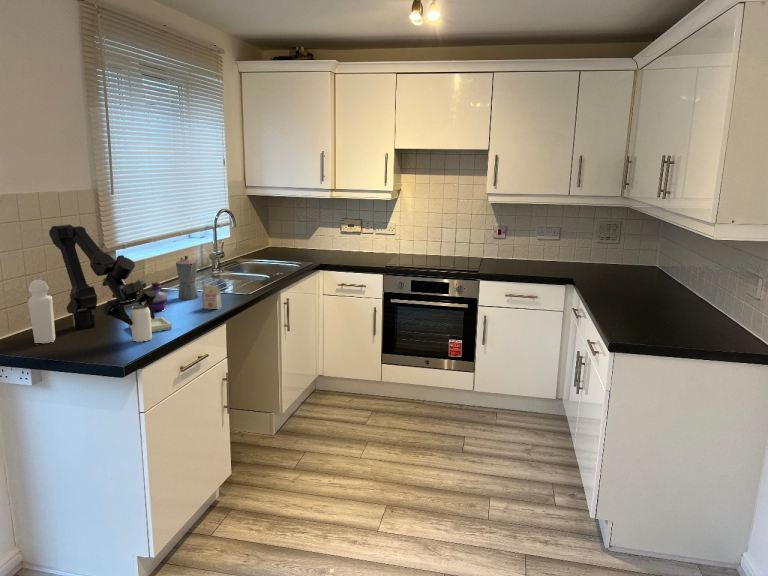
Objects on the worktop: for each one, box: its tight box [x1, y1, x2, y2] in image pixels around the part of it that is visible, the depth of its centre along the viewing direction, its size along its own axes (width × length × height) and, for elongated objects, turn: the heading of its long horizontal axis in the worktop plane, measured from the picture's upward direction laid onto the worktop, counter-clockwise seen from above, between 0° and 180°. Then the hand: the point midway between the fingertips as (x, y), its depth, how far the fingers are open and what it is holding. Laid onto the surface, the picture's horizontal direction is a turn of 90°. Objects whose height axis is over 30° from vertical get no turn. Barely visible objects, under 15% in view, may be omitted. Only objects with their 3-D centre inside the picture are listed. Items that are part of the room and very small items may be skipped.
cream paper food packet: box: [201, 284, 223, 310], centre depth 244 cm, size 4×7×10 cm, turn 75°
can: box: [129, 305, 153, 343], centre depth 199 cm, size 6×6×12 cm
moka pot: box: [175, 255, 200, 301], centre depth 262 cm, size 10×15×20 cm, turn 41°
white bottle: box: [27, 279, 56, 344], centre depth 196 cm, size 6×6×22 cm
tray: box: [128, 316, 173, 333], centre depth 215 cm, size 12×12×2 cm
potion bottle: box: [150, 281, 169, 312], centre depth 240 cm, size 9×9×12 cm
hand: (143, 321), depth 199 cm, fingers open, 9 cm apart
